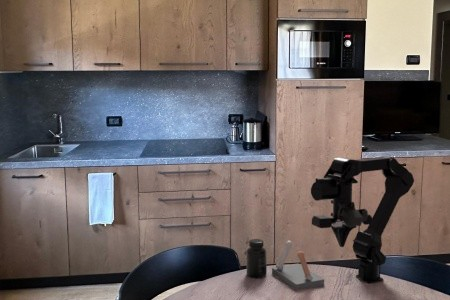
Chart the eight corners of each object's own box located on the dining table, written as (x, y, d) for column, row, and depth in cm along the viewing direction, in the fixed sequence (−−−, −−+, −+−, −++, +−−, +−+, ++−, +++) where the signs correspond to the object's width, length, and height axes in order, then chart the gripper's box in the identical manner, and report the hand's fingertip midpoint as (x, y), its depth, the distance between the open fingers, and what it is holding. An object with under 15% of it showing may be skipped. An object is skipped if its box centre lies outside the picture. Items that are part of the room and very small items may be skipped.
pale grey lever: (279, 268, 158) (290, 240, 158) (283, 271, 155) (294, 242, 156) (274, 266, 157) (285, 239, 157) (277, 269, 155) (289, 240, 155)
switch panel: (298, 268, 162) (298, 263, 162) (324, 285, 148) (324, 279, 148) (272, 273, 158) (272, 267, 158) (296, 290, 144) (296, 284, 144)
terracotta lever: (309, 276, 149) (300, 249, 146) (314, 278, 147) (304, 251, 144) (304, 279, 148) (294, 252, 146) (308, 282, 146) (298, 254, 143)
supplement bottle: (265, 271, 160) (265, 237, 159) (267, 278, 154) (268, 243, 152) (245, 271, 160) (245, 237, 159) (247, 278, 153) (247, 244, 152)
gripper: (329, 204, 134) (328, 256, 135) (383, 200, 140) (382, 251, 141) (311, 198, 145) (310, 246, 146) (362, 194, 150) (361, 241, 151)
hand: (341, 246), depth 146 cm, fingers closed
